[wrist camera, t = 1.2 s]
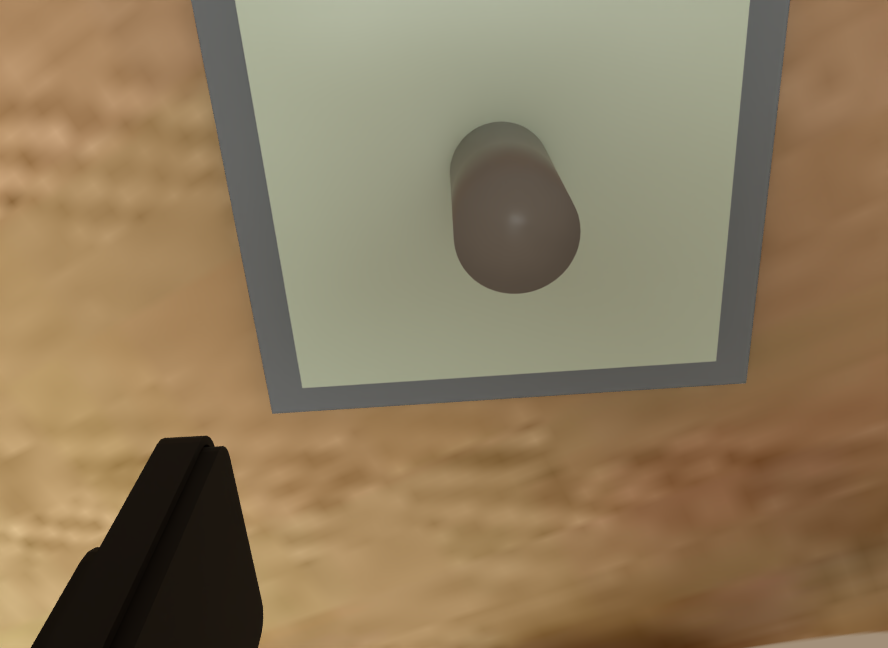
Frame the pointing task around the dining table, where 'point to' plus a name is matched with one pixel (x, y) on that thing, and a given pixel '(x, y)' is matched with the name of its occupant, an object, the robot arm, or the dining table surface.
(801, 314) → the dining table surface
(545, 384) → the rubber mat
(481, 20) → the cover board
